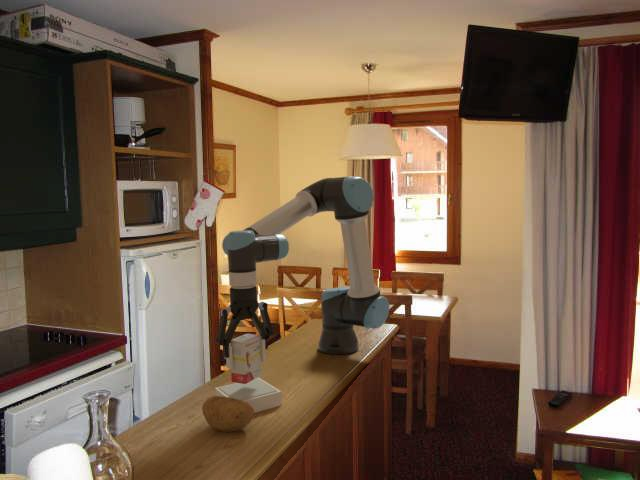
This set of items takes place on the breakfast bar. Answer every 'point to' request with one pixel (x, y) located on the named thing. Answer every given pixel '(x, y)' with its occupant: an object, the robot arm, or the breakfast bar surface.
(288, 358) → the breakfast bar surface
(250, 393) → the block
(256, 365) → the ink box
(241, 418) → the potato
